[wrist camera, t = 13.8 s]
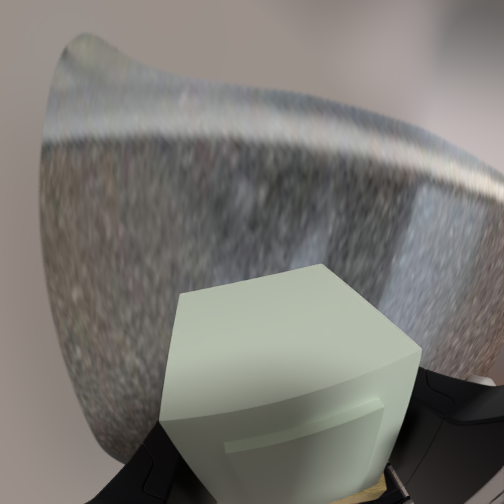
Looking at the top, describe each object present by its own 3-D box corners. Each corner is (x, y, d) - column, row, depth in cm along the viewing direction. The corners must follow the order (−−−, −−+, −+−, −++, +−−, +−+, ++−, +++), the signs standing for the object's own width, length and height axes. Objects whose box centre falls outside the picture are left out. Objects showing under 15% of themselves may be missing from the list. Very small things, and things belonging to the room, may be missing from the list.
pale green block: (327, 394, 10) (379, 489, 5) (222, 419, 10) (238, 529, 5) (321, 263, 9) (430, 356, 4) (180, 293, 8) (158, 433, 3)
